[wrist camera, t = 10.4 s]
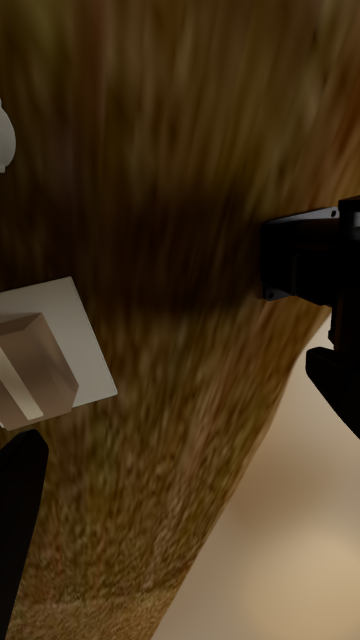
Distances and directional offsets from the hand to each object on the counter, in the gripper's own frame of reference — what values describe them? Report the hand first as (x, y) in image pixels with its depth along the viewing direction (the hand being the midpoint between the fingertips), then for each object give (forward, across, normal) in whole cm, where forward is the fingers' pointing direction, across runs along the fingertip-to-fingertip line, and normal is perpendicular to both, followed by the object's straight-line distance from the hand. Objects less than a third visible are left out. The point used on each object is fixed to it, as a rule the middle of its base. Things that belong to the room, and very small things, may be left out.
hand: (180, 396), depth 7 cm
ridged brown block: (+11, +10, +3) cm, 15 cm away
